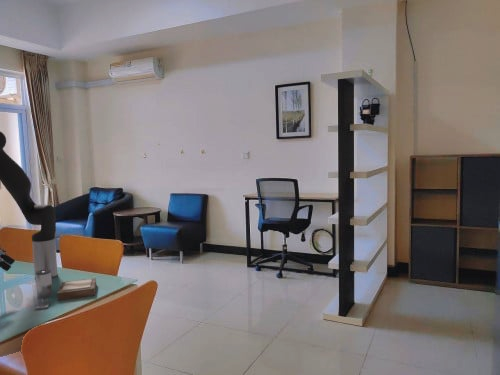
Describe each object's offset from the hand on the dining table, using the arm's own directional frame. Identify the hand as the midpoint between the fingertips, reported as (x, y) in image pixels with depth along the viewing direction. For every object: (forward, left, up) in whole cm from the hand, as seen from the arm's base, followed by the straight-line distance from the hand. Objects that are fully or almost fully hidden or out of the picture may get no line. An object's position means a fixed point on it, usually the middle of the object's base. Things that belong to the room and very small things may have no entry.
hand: (11, 265), depth 144 cm
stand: (0, +22, -14) cm, 26 cm away
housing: (-1, +10, -14) cm, 17 cm away
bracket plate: (+10, +11, -14) cm, 21 cm away
